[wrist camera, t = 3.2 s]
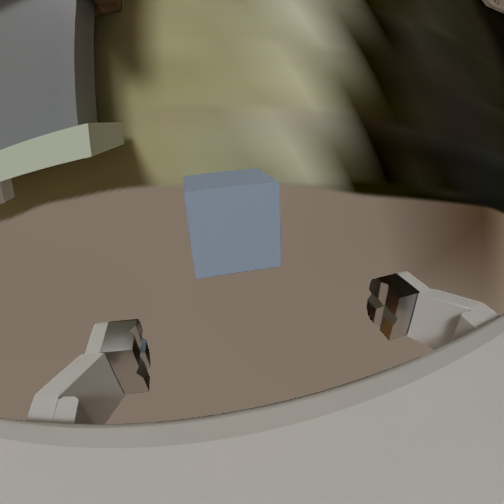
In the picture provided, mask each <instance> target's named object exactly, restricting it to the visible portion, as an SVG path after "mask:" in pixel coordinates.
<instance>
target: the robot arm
mask: <svg viewBox="0 0 504 504" xmlns="http://www.w3.org/2000/svg"><path fill="white" fill-rule="evenodd" d="M482 1H483V3H484V4H485V5H486V6H487V7H490V8H492V9H494V10H497V11H499V12H501V13H503V14H504V0H482ZM369 290H370V292H371V293H372V294H371V296H370V297H369V298H368V300H367V312H368V316H369V318H370V320H371V321H372V322H373V323H375V324H377V325H380V331H381V332H382V333H383V334H384V335H385V336H386V338H387V339H388V340H392V339H396V338H399V337H402V336H405V335H407V336H408V337H410V338H412V339H415V340H416V341H418V342H420V343H422V344H424V345H427V346H428V347H431V348H432V349H434V350H433V351H431V352H428V353H426V354H424V355H422V356H419V357H417V358H414V359H413V360H410V361H407V362H405V363H402V364H400V365H397V366H395V367H392V368H390V369H387V370H384V371H381V372H379V373H376V374H373V375H370V376H367V377H365V378H362V379H359V380H356V381H353V382H350V383H347V384H343V385H340V386H337V387H334V388H330V389H327V390H324V391H321V392H317V393H313V394H310V395H306V396H302V397H299V398H295V399H290V400H286V401H282V402H278V403H274V404H269V405H265V406H260V407H255V408H251V409H245V410H240V411H234V412H229V413H223V414H217V415H210V416H203V417H196V418H188V419H180V420H170V421H159V422H146V423H128V424H105V423H106V422H107V420H108V419H109V418H110V416H111V415H112V413H113V412H114V410H115V409H116V408H117V406H118V405H119V403H120V402H121V400H122V399H123V397H124V396H125V395H124V394H134V393H143V392H149V384H150V376H149V373H148V371H147V370H148V369H149V368H150V353H149V348H148V345H147V341H146V340H145V339H144V338H143V337H142V331H143V330H142V326H141V323H140V321H139V320H138V319H133V320H122V321H111V322H100V323H96V324H95V325H94V327H93V330H92V333H91V336H90V339H89V342H88V345H87V348H86V352H85V354H81V355H80V356H79V357H77V358H76V359H75V360H74V361H73V362H72V363H70V364H69V365H68V366H67V367H66V368H65V369H63V370H62V371H61V372H60V373H59V374H58V375H57V376H55V377H54V378H53V379H52V380H51V381H50V382H49V383H48V384H46V385H45V386H44V387H43V388H42V389H41V390H40V391H38V392H37V393H36V394H35V396H34V399H33V402H32V404H31V407H30V411H29V414H28V417H27V420H26V421H22V420H13V419H7V418H0V504H504V314H502V315H501V316H499V315H498V314H497V313H496V312H494V311H493V310H492V309H491V308H489V307H488V306H487V305H485V304H484V303H482V302H479V301H475V300H472V299H468V298H464V297H461V296H458V295H454V294H450V293H447V292H444V291H440V290H436V289H430V288H428V287H427V286H426V285H424V284H423V283H422V282H420V281H419V280H418V279H417V278H415V277H414V276H413V275H411V274H410V273H409V272H407V271H402V272H398V273H394V274H392V275H387V276H383V277H379V278H376V279H372V281H371V283H370V287H369Z"/></svg>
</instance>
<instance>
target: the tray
mask: <svg viewBox="0 0 504 504" xmlns="http://www.w3.org/2000/svg"><path fill="white" fill-rule="evenodd" d="M94 15H95V1H94V0H0V204H2V203H5V202H7V201H8V200H10V199H12V198H14V197H15V195H14V190H13V185H12V179H11V178H13V177H16V176H20V175H23V174H26V173H30V172H33V171H36V170H40V169H44V168H47V167H51V166H55V165H59V164H63V163H67V162H71V161H75V160H79V159H83V158H88V157H92V156H95V155H97V154H100V153H102V152H105V151H107V150H110V149H113V148H115V147H118V146H121V145H124V135H123V125H122V122H108V123H98V120H97V109H96V95H95V76H94Z"/></svg>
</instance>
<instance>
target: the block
mask: <svg viewBox="0 0 504 504" xmlns="http://www.w3.org/2000/svg"><path fill="white" fill-rule="evenodd" d="M279 190H280V189H279V182H278V181H277V180H275V179H274V178H272V177H271V176H269V175H268V174H266V173H265V172H263V171H262V170H260V169H258V168H257V169H245V170H235V171H225V172H216V173H207V174H198V175H190V176H184V197H185V205H186V213H187V220H188V228H189V235H190V241H191V249H192V256H193V262H194V269H195V275H196V279H197V278H205V277H211V276H219V275H226V274H233V273H240V272H246V271H253V270H260V269H266V268H273V267H280V266H281V226H280V191H279Z"/></svg>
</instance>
